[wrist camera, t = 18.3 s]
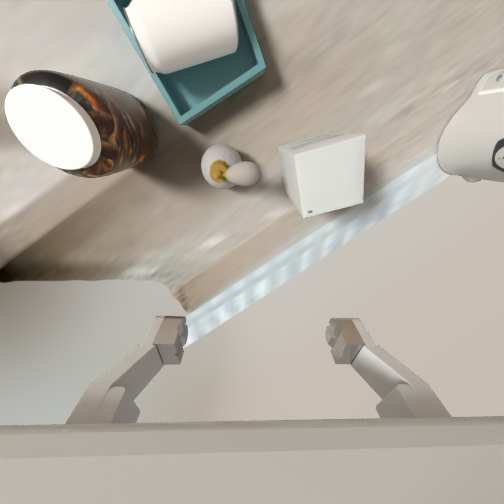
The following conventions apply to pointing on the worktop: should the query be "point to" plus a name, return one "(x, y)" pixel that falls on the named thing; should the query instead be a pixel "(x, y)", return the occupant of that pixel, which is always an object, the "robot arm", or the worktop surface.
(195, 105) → the bin
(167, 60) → the can
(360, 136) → the supplement box
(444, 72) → the worktop surface
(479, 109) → the robot arm
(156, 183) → the worktop surface
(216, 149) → the perfume bottle
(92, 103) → the jar
